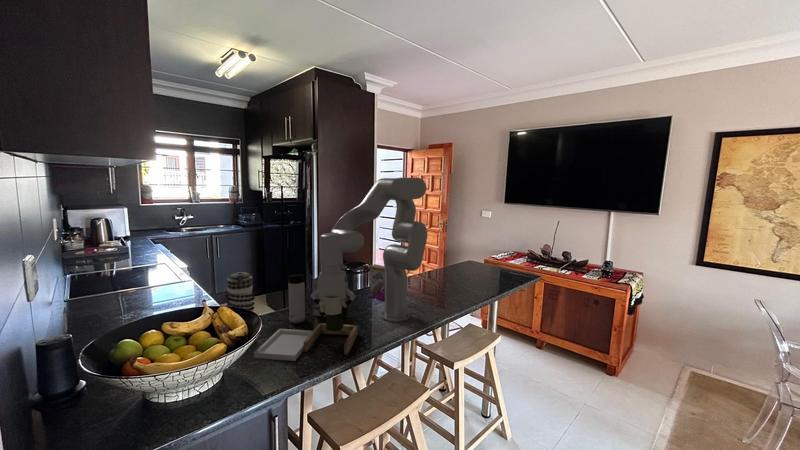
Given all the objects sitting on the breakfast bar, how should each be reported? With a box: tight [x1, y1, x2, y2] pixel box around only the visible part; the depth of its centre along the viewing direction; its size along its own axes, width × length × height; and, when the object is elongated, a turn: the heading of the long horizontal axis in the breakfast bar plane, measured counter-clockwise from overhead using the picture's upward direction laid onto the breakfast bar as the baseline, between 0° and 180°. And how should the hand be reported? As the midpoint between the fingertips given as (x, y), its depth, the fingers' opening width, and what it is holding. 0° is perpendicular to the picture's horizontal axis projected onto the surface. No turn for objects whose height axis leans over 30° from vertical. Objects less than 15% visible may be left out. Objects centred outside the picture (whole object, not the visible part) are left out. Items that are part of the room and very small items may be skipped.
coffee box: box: [312, 275, 327, 318], centre depth 144 cm, size 9×6×16 cm
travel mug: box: [288, 273, 306, 324], centre depth 134 cm, size 6×7×20 cm
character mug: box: [320, 297, 344, 331], centre depth 116 cm, size 11×7×13 cm, turn 136°
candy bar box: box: [368, 263, 385, 302], centre depth 163 cm, size 11×5×16 cm, turn 58°
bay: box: [303, 322, 359, 356], centre depth 117 cm, size 15×15×4 cm
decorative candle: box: [225, 271, 256, 313], centre depth 115 cm, size 9×9×25 cm
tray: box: [253, 328, 313, 362], centre depth 114 cm, size 14×18×2 cm
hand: (333, 316), depth 116 cm, fingers closed on character mug, 7 cm apart
